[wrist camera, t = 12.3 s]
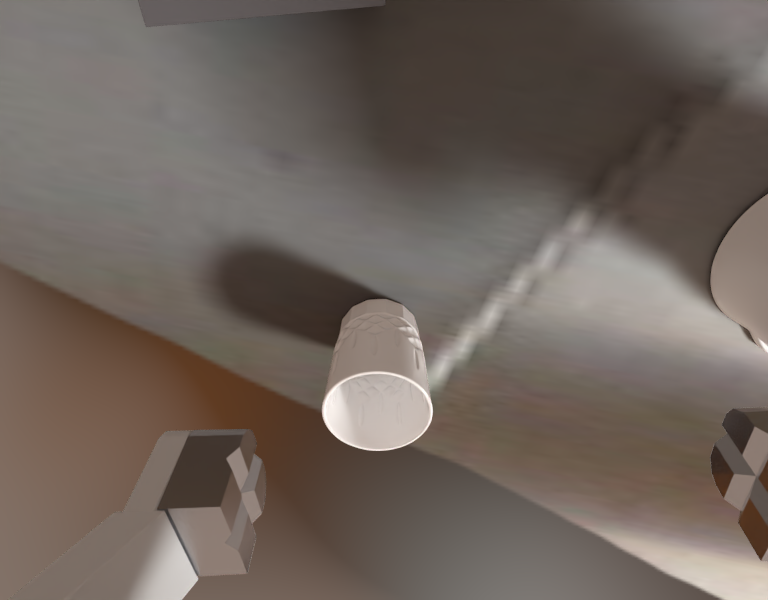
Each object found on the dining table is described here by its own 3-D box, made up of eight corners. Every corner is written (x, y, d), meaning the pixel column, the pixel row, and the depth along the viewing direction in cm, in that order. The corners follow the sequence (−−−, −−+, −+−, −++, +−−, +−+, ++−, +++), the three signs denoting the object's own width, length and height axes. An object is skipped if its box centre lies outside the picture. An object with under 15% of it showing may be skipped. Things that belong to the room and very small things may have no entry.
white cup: (414, 369, 49) (420, 456, 40) (329, 358, 48) (316, 444, 40) (433, 298, 44) (443, 379, 36) (339, 285, 44) (328, 364, 35)
